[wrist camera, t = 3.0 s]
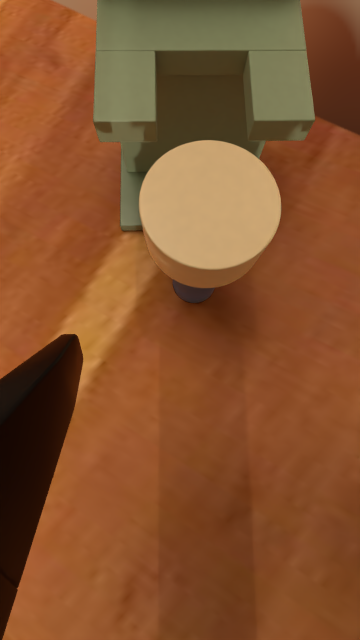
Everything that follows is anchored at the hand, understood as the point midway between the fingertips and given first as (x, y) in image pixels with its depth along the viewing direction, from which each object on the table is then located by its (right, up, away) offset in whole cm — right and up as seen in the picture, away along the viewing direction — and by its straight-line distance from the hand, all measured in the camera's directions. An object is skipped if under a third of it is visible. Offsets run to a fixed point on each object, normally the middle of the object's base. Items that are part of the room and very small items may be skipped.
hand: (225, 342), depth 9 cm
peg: (0, +3, +13) cm, 14 cm away
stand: (-1, +12, +15) cm, 19 cm away
